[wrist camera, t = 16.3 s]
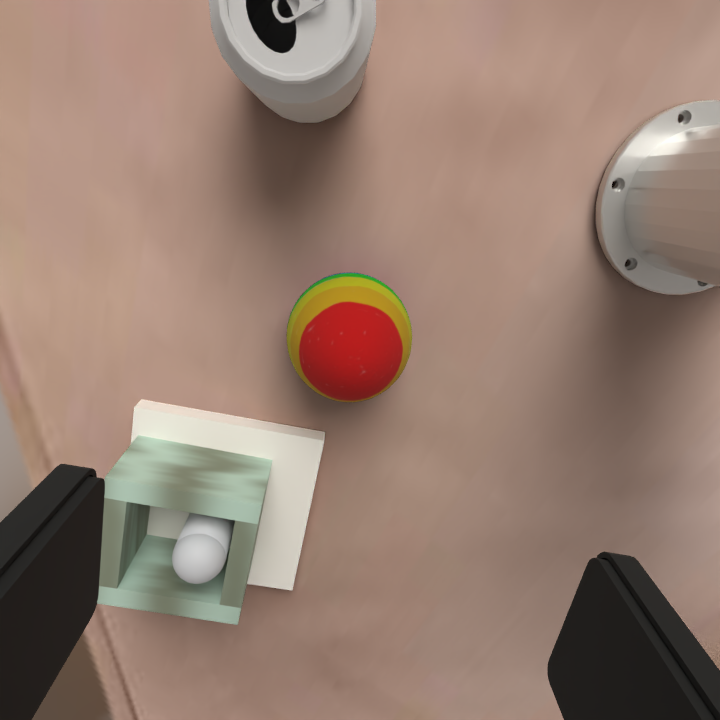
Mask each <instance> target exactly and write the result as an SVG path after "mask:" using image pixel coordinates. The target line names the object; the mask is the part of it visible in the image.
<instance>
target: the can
mask: <svg viewBox="0 0 720 720" xmlns="http://www.w3.org/2000/svg"><path fill="white" fill-rule="evenodd" d="M209 7H210V17H211V28H212V31H213V34H214V36H215V39H216V42H217V44H218V47H219V49H220V52H221V55H222V57H223V58H224V60H225V61H226V62H227V64H228V65H229V66H230V68H231V69H232V70H233V72H234V73H235V74H236V76H237V77H238V78H239V80H241V81H242V82H243V83H244V84H245V85H246V86H247V87H248V88H249V89H250V90H251V91H252V92H253V93H254V94H255V95H256V96H257V97H258V98H259V99H260V100H261V101H262V102H263V103H264V104H265V105H266V106H267V107H269V108H270V109H271V110H273V111H274V112H275V113H277V114H278V115H280V116H281V117H283V118H286V119H289V120H292V121H295V122H298V123H318V122H321V121H324V120H326V119H329V118H331V117H334V116H336V115H337V114H339V113H340V112H341V111H342V110H343V109H345V108H346V107H347V106H348V105H349V104H350V103H351V102H352V100H353V99H354V97H355V95H356V94H357V92H358V91H359V89H360V87H361V85H362V81H363V77H364V74H365V70H366V66H367V62H368V58H369V54H370V49H371V45H372V41H373V37H374V32H375V28H376V0H209Z"/></svg>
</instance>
